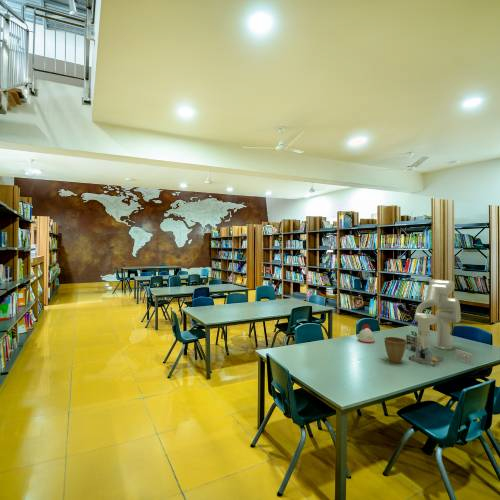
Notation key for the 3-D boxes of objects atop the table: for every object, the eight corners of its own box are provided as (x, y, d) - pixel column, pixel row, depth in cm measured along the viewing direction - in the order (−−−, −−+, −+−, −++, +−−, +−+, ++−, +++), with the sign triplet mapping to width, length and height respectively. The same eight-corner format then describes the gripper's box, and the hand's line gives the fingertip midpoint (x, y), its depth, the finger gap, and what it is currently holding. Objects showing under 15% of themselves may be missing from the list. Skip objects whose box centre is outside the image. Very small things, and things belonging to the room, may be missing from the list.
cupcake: (354, 339, 285) (354, 323, 284) (367, 338, 289) (367, 322, 289) (364, 344, 271) (364, 326, 271) (378, 342, 275) (378, 325, 275)
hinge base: (445, 360, 232) (445, 356, 232) (434, 366, 221) (434, 362, 221) (421, 353, 246) (421, 350, 246) (408, 359, 235) (408, 355, 235)
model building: (423, 350, 254) (423, 332, 254) (415, 351, 251) (415, 333, 251) (414, 347, 263) (414, 329, 263) (405, 348, 260) (405, 330, 260)
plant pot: (398, 366, 221) (398, 343, 221) (379, 360, 233) (379, 338, 233) (410, 362, 229) (410, 340, 228) (392, 356, 241) (392, 335, 241)
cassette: (472, 364, 224) (473, 354, 224) (471, 365, 223) (471, 354, 223) (456, 359, 235) (456, 348, 235) (455, 359, 234) (455, 349, 234)
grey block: (417, 356, 235) (417, 346, 235) (432, 360, 227) (432, 350, 227) (415, 357, 233) (415, 347, 233) (430, 361, 225) (430, 351, 225)
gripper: (423, 329, 238) (423, 354, 238) (413, 333, 228) (413, 358, 228) (434, 331, 232) (434, 356, 232) (423, 335, 222) (423, 361, 222)
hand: (423, 357), depth 230 cm, fingers closed on grey block, 3 cm apart
